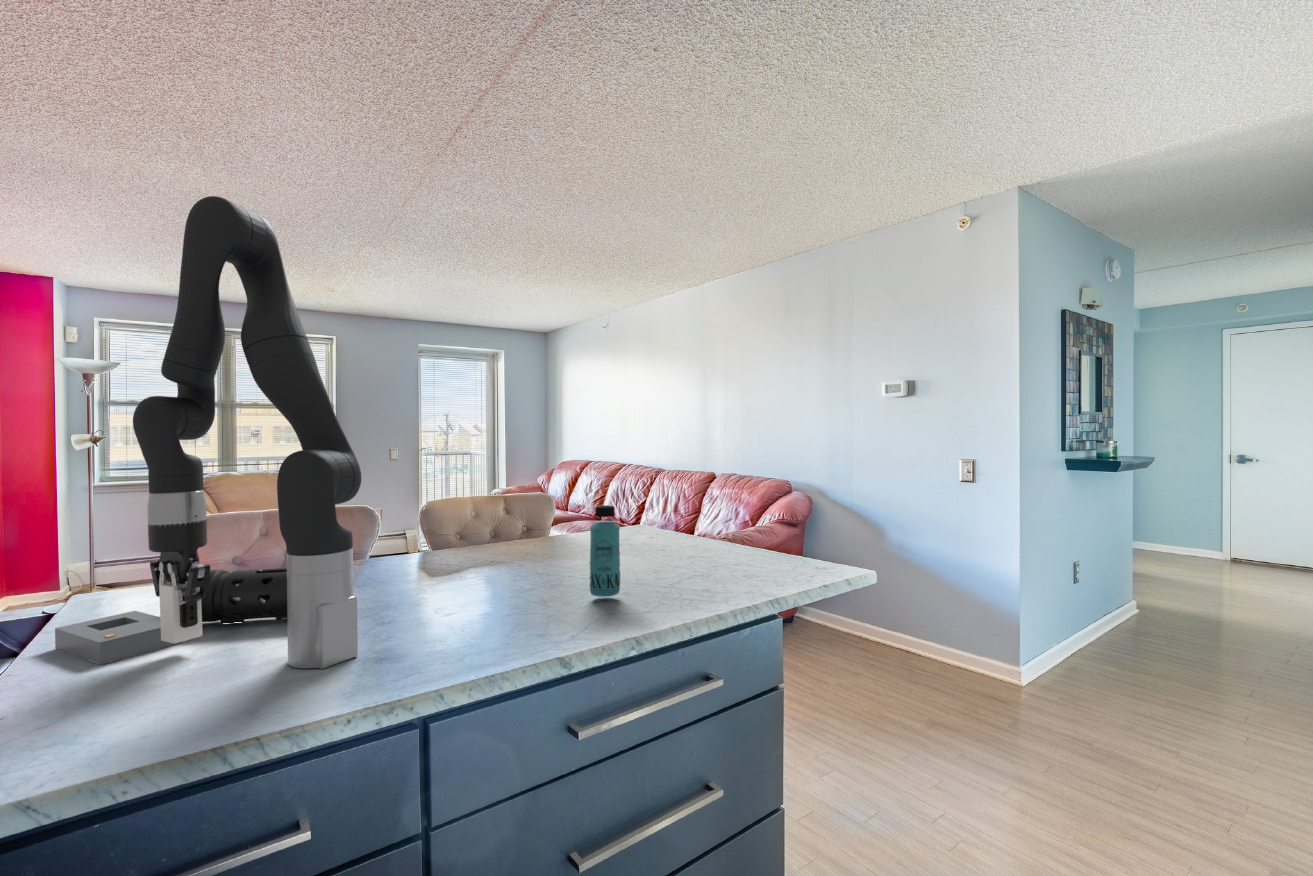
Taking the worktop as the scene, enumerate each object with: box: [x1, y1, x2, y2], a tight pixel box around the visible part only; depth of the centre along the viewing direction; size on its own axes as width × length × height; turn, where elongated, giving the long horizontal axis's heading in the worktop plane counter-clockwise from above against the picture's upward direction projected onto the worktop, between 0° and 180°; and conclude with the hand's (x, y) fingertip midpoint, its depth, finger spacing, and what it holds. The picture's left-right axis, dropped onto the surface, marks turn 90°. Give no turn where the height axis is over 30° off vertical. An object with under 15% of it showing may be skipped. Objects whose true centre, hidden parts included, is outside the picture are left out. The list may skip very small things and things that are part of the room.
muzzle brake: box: [201, 567, 287, 625], centre depth 116 cm, size 10×28×10 cm, turn 102°
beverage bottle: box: [588, 505, 621, 598], centre depth 128 cm, size 6×7×20 cm
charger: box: [159, 582, 203, 645], centre depth 99 cm, size 4×4×9 cm
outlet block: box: [54, 610, 183, 666], centre depth 103 cm, size 16×11×4 cm
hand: (181, 624), depth 99 cm, fingers closed on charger, 4 cm apart
